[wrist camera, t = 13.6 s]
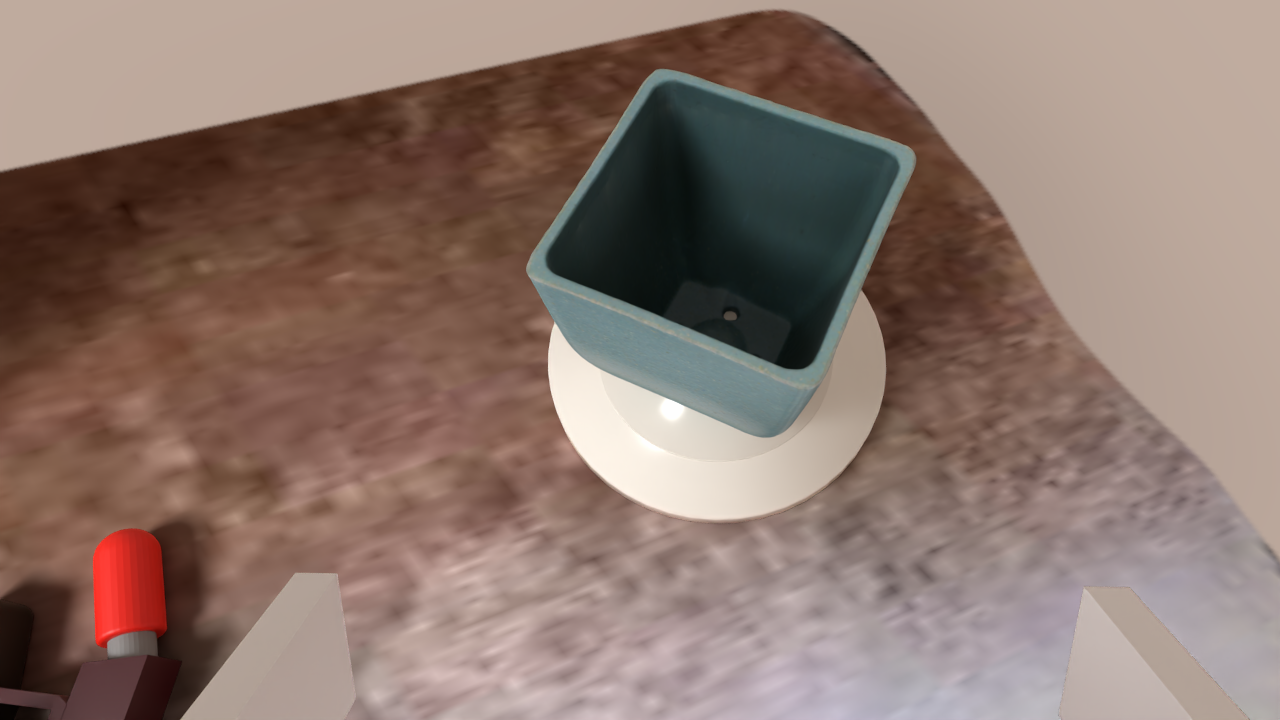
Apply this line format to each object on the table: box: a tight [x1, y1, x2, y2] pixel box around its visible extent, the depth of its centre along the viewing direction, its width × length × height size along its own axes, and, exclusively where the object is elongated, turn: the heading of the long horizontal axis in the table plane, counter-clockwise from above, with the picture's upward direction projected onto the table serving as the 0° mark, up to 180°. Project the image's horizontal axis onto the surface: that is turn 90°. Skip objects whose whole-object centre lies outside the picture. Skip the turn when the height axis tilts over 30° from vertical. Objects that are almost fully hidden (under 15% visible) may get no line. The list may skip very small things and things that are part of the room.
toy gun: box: [0, 529, 182, 720], centre depth 26 cm, size 10×12×5 cm
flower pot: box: [526, 69, 916, 438], centre depth 27 cm, size 9×9×9 cm
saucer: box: [548, 290, 886, 524], centre depth 31 cm, size 13×13×1 cm
